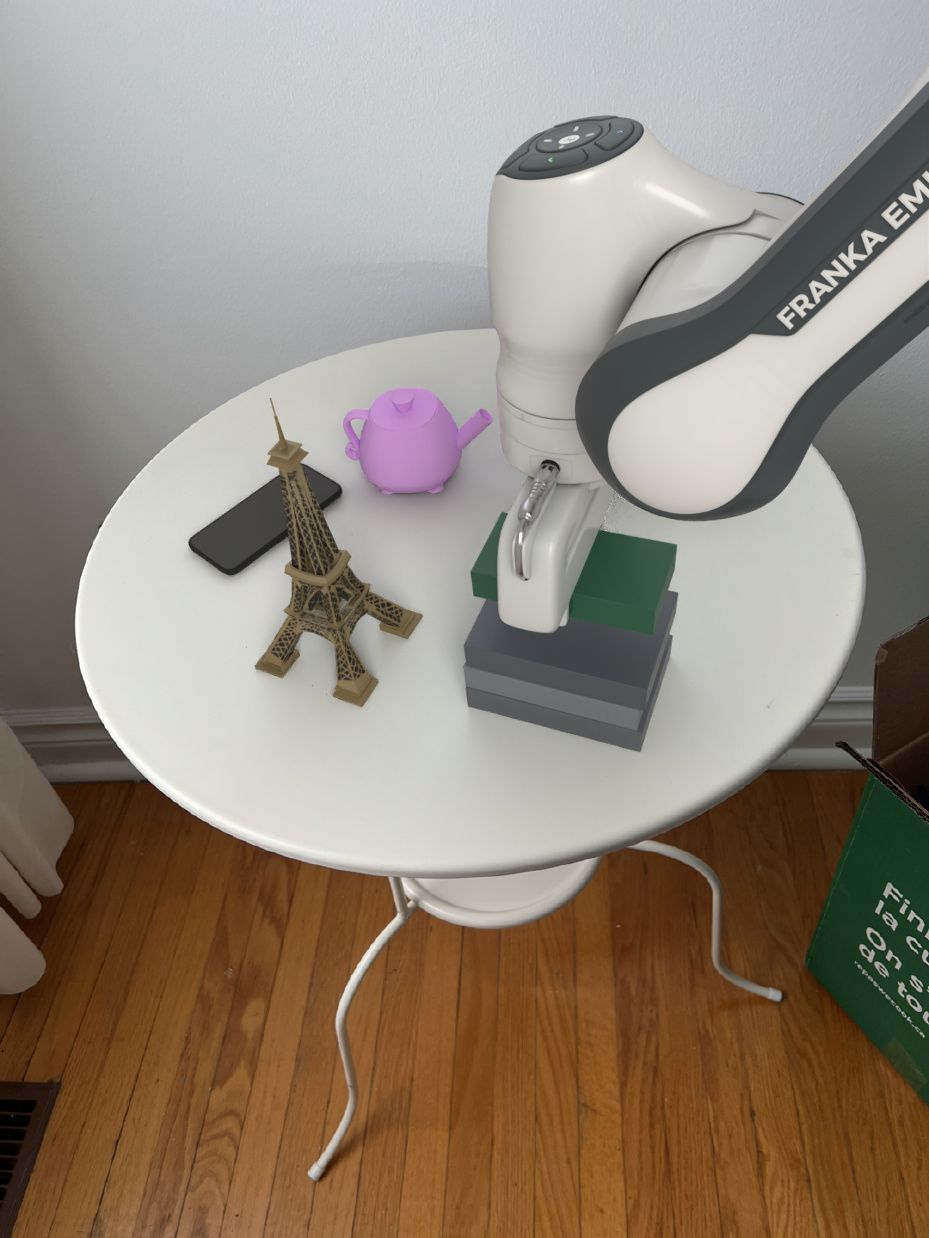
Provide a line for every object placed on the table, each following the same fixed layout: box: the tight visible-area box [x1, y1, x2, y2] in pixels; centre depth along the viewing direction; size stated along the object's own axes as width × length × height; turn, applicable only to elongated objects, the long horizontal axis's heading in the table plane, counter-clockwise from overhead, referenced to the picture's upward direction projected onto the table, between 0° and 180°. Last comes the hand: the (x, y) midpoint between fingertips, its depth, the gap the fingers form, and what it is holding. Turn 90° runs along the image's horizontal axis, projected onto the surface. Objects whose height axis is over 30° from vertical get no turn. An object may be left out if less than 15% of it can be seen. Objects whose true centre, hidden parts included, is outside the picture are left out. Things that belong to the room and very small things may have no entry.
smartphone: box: [187, 462, 343, 576], centre depth 90 cm, size 7×1×15 cm
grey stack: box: [462, 589, 679, 753], centre depth 72 cm, size 14×10×8 cm
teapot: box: [342, 387, 494, 495], centre depth 90 cm, size 10×15×9 cm
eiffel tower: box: [254, 397, 423, 708], centre depth 70 cm, size 11×11×25 cm
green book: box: [469, 511, 678, 635], centre depth 65 cm, size 13×6×2 cm, turn 69°
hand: (574, 577), depth 65 cm, fingers closed on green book, 6 cm apart
